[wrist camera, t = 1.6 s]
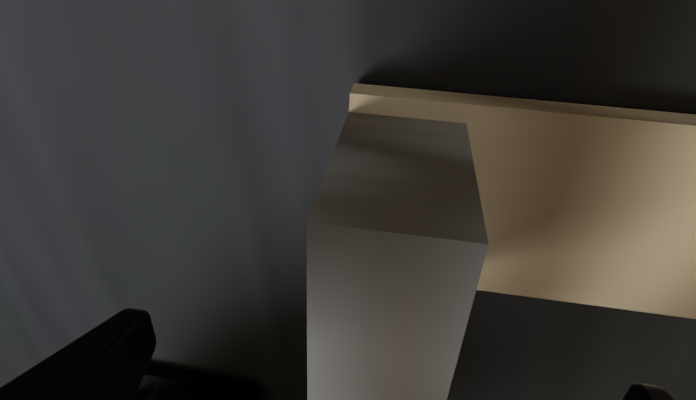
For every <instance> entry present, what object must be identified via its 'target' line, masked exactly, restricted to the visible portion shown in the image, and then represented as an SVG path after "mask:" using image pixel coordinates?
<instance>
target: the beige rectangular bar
mask: <svg viewBox="0 0 696 400" xmlns="http://www.w3.org/2000/svg"><path fill="white" fill-rule="evenodd" d="M306 240H307V400H447V397H448V393H449V390H450V386H451V382H452V379H453V375H454V371H455V367H456V364H457V360H458V356H459V353H460V349H461V345H462V341H463V338H464V334H465V330H466V327H467V323H468V319H469V315H470V312H471V308H472V304H473V301H474V297H475V293H476V290H481V291H489V292H496V293H504V294H511V295H519V296H526V297H534V298H541V299H549V300H556V301H564V302H571V303H579V304H586V305H594V306H601V307H609V308H616V309H624V310H631V311H639V312H647V313H654V314H662V315H669V316H677V317H684V318H692V319H696V115H695V114H684V113H673V112H662V111H651V110H640V109H629V108H619V107H608V106H597V105H586V104H575V103H564V102H553V101H542V100H531V99H521V98H510V97H499V96H488V95H477V94H466V93H455V92H444V91H433V90H423V89H412V88H401V87H390V86H379V85H368V84H357V83H354V85H353V87H352V89H351V92H350V102H349V113H348V116H347V118H346V121H345V123H344V126H343V129H342V131H341V134H340V136H339V139H338V142H337V144H336V147H335V149H334V152H333V154H332V157H331V160H330V162H329V165H328V167H327V170H326V173H325V175H324V178H323V180H322V183H321V185H320V188H319V191H318V193H317V196H316V198H315V201H314V204H313V206H312V209H311V211H310V214H309V216H308V219H307V222H306Z"/></svg>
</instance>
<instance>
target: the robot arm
mask: <svg viewBox="0 0 696 400" xmlns="http://www.w3.org/2000/svg"><path fill="white" fill-rule="evenodd" d="M155 346H156V337H155V333H154V329H153V325H152V322H151V318H150V315H149V313H148V312H147V311H145V310H140V309H133V308H127V309H124V310H122V311H120V312H119V313H117V314H116V315H114V316H112V317H111V318H109V319H108V320H106V321H105V322H103V323H101V324H100V325H98V326H97V327H95V328H94V329H92V330H90V331H89V332H87V333H86V334H84V335H83V336H81V337H79V338H78V339H76V340H75V341H73V342H72V343H70V344H68V345H67V346H65V347H64V348H62V349H61V350H59V351H57V352H56V353H54V354H53V355H51V356H50V357H48V358H46V359H45V360H43V361H42V362H40V363H38V364H37V365H35V366H34V367H32V368H31V369H29V370H27V371H26V372H24V373H23V374H21V375H20V376H18V377H16V378H15V379H13V380H12V381H10V382H9V383H7V384H5V385H4V386H2V387H1V388H0V400H265V396H264V391H263V389H262V388H261V387H260V386H258V385H255V384H251V383H245V382H239V381H233V380H226V379H220V378H214V377H208V376H202V375H195V374H189V373H183V372H177V371H170V370H164V369H158V368H152V367H148V365H149V362H150V360H151V358H152V355H153V353H154V350H155ZM623 400H675V399H674V398H673V397H672V396H671V395H670V394H669V393H668V392H667V391H665V390H664V389H663V388H661V387H659V386H656V385H651V384H644V383H635V384H633V385H632V386H631V387H630V388H629V390H628V392H627V393H626V395H625V397H624V398H623Z"/></svg>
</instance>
